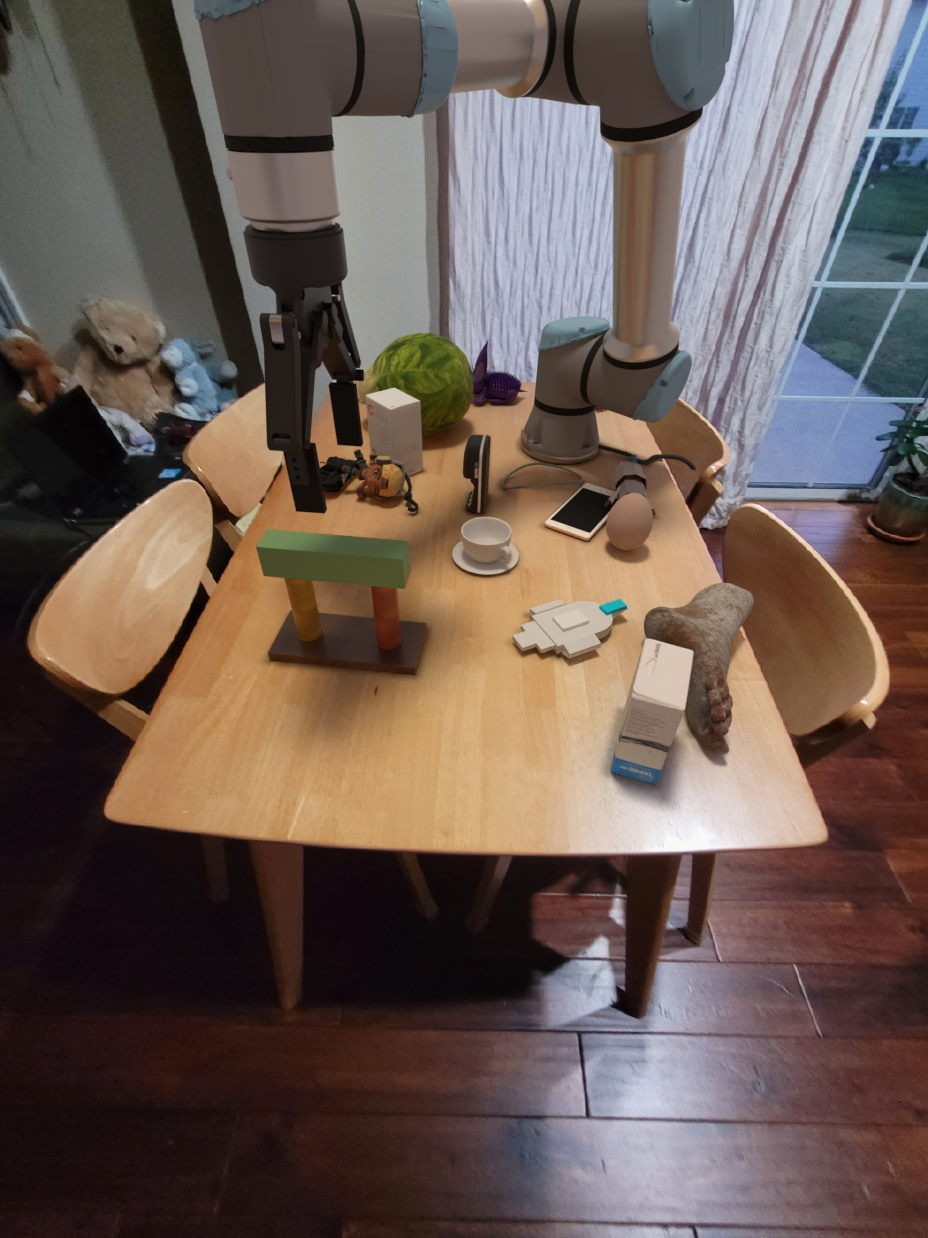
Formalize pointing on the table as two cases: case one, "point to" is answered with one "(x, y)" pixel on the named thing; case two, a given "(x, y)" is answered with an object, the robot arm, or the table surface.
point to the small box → (396, 427)
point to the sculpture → (705, 653)
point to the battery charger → (477, 470)
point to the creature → (493, 382)
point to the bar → (335, 558)
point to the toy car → (335, 473)
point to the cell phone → (583, 512)
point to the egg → (629, 522)
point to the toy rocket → (568, 626)
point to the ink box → (652, 710)
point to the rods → (348, 634)
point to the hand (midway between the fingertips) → (332, 474)
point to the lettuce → (424, 378)
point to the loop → (541, 483)
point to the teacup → (485, 546)
